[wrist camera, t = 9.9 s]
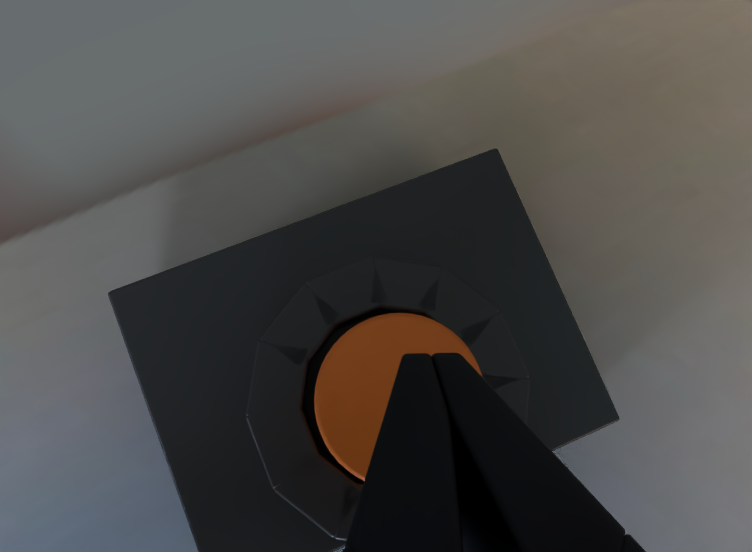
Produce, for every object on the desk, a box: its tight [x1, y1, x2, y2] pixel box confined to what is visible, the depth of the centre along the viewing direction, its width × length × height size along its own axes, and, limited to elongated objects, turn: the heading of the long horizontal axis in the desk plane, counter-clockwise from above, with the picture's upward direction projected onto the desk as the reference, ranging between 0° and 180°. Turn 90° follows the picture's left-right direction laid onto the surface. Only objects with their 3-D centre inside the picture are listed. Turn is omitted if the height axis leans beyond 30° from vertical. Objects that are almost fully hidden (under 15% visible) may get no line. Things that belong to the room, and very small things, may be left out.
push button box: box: [108, 149, 619, 552], centre depth 16 cm, size 11×8×6 cm
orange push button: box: [314, 313, 482, 481], centre depth 13 cm, size 3×3×2 cm
